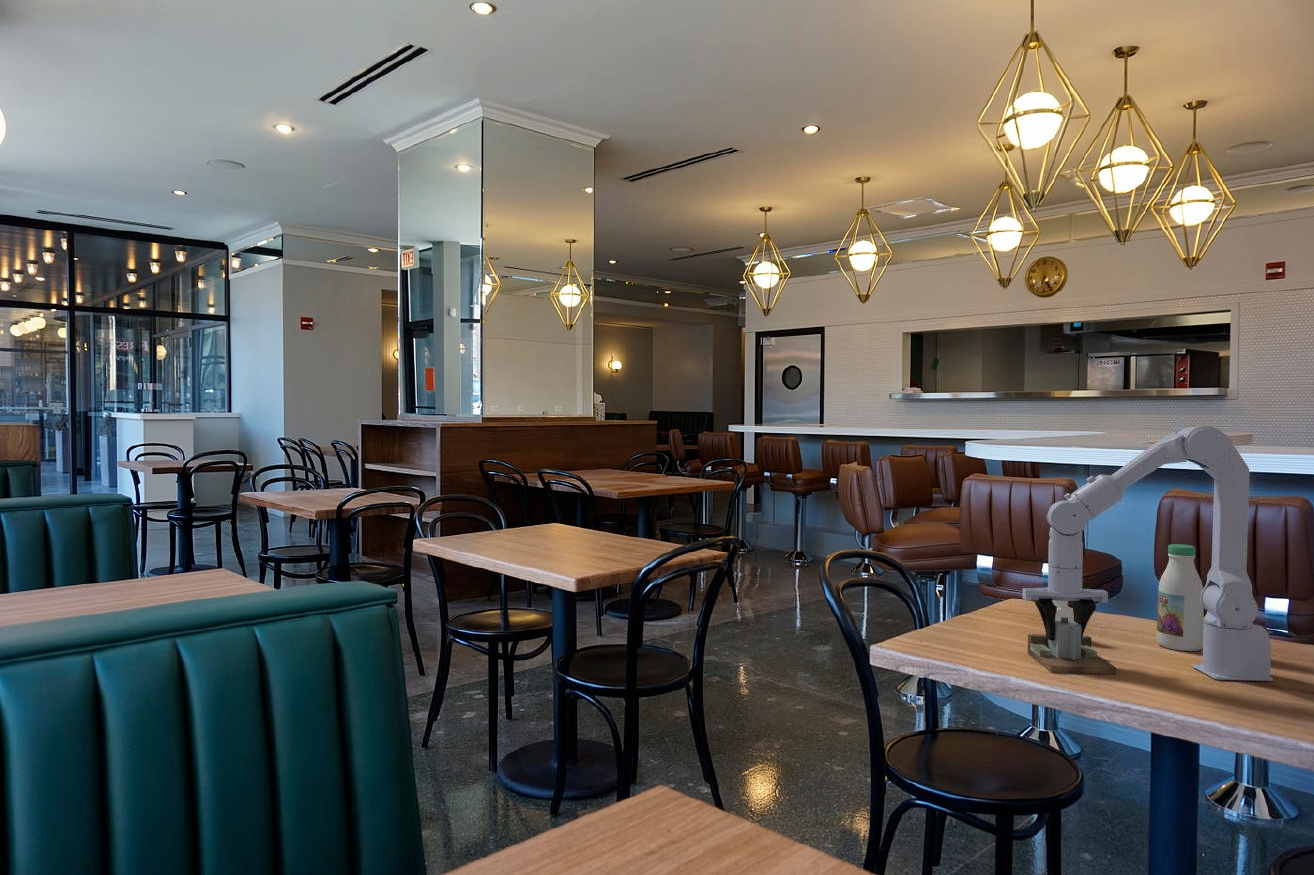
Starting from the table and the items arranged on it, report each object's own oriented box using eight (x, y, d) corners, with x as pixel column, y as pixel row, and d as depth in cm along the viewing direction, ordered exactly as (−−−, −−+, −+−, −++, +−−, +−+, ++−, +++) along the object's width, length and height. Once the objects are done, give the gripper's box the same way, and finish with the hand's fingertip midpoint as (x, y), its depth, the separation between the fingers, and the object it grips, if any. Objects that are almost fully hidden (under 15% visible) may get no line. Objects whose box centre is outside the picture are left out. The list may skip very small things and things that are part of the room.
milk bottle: (1190, 642, 172) (1192, 542, 171) (1210, 652, 164) (1213, 548, 164) (1149, 641, 173) (1151, 542, 172) (1168, 651, 165) (1170, 548, 164)
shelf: (1087, 655, 162) (1088, 635, 162) (1115, 674, 150) (1116, 653, 150) (1027, 653, 163) (1028, 634, 163) (1050, 672, 151) (1051, 651, 151)
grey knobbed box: (1070, 651, 161) (1070, 615, 160) (1086, 662, 153) (1086, 624, 153) (1047, 650, 161) (1048, 614, 161) (1062, 661, 154) (1063, 624, 153)
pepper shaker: (1073, 640, 173) (1074, 593, 173) (1053, 639, 173) (1054, 593, 173) (1064, 634, 177) (1065, 589, 177) (1044, 634, 177) (1045, 589, 177)
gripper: (1097, 563, 161) (1095, 635, 162) (1017, 561, 163) (1016, 633, 163) (1113, 570, 154) (1112, 645, 155) (1030, 568, 156) (1029, 642, 156)
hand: (1063, 639), depth 158 cm, fingers open, 4 cm apart
